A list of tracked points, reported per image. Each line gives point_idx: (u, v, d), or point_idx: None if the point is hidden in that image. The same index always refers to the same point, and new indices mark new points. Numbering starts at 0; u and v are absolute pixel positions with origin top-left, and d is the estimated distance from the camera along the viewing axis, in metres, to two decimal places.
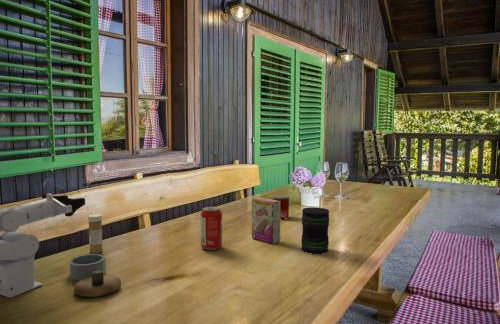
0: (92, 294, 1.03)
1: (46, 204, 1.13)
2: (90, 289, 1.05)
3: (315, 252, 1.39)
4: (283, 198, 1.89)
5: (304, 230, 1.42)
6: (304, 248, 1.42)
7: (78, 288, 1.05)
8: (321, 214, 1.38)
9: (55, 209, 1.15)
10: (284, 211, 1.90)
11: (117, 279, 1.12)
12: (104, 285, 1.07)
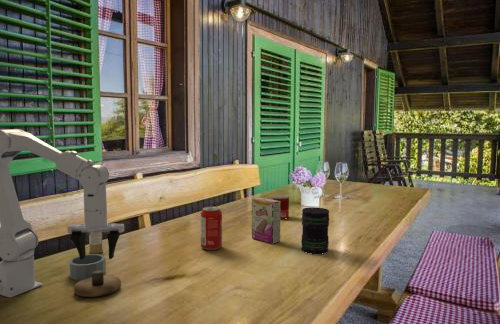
0: (92, 294, 1.03)
1: (85, 217, 1.05)
2: (90, 289, 1.05)
3: (315, 252, 1.39)
4: (283, 198, 1.89)
5: (304, 230, 1.42)
6: (304, 248, 1.42)
7: (78, 288, 1.05)
8: (321, 214, 1.38)
9: None
10: (284, 211, 1.90)
11: (117, 279, 1.12)
12: (104, 285, 1.07)
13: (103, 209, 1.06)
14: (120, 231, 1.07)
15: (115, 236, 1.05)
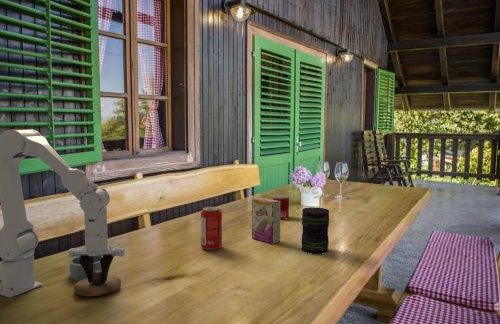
0: (92, 294, 1.03)
1: (85, 241, 1.06)
2: (90, 288, 1.05)
3: (315, 252, 1.39)
4: (283, 198, 1.89)
5: (304, 230, 1.42)
6: (304, 248, 1.42)
7: (78, 288, 1.05)
8: (321, 214, 1.38)
9: None
10: (284, 211, 1.90)
11: (117, 279, 1.12)
12: (104, 285, 1.07)
13: (104, 233, 1.06)
14: (121, 255, 1.07)
15: (108, 260, 1.06)
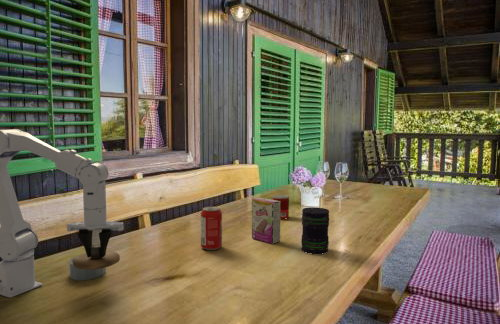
0: (90, 267, 1.03)
1: (84, 215, 1.05)
2: (89, 262, 1.05)
3: (315, 252, 1.39)
4: (283, 198, 1.89)
5: (304, 230, 1.42)
6: (304, 248, 1.42)
7: (77, 262, 1.05)
8: (321, 214, 1.38)
9: None
10: (284, 211, 1.90)
11: (116, 254, 1.11)
12: (103, 259, 1.07)
13: (102, 207, 1.06)
14: (119, 229, 1.07)
15: (107, 234, 1.05)
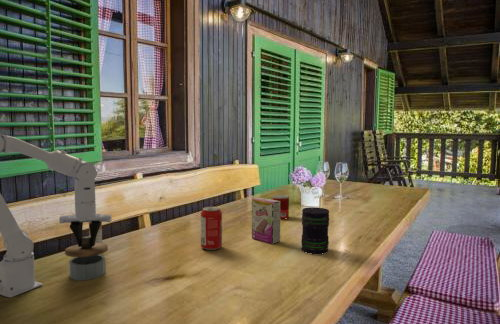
0: (83, 255, 1.14)
1: (75, 208, 1.16)
2: (81, 251, 1.16)
3: (315, 252, 1.39)
4: (283, 198, 1.89)
5: (304, 230, 1.42)
6: (304, 248, 1.42)
7: (69, 251, 1.16)
8: (321, 214, 1.38)
9: None
10: (284, 211, 1.90)
11: (104, 244, 1.23)
12: (93, 248, 1.19)
13: (92, 201, 1.17)
14: (108, 221, 1.19)
15: (96, 225, 1.17)
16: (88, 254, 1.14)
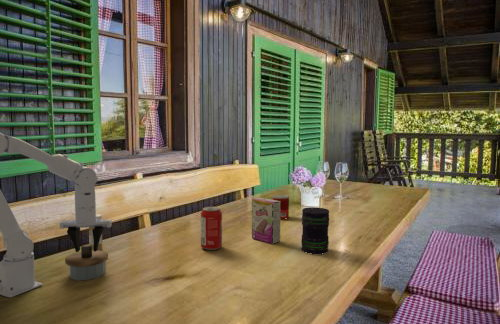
0: (83, 264, 1.14)
1: (76, 214, 1.17)
2: (81, 260, 1.16)
3: (315, 252, 1.39)
4: (283, 198, 1.89)
5: (304, 230, 1.42)
6: (304, 248, 1.42)
7: (69, 260, 1.16)
8: (321, 214, 1.38)
9: None
10: (284, 211, 1.90)
11: (104, 252, 1.23)
12: (93, 257, 1.19)
13: (92, 206, 1.17)
14: (108, 226, 1.19)
15: (99, 231, 1.17)
16: (88, 264, 1.14)
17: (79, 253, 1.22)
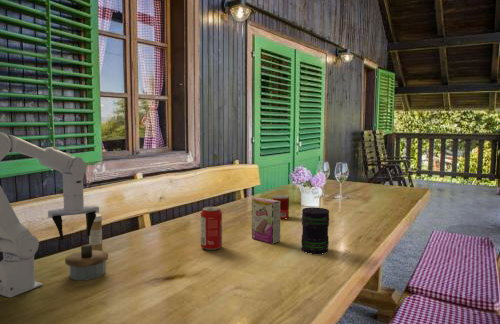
0: (83, 264, 1.14)
1: (66, 202, 1.21)
2: (81, 260, 1.16)
3: (315, 252, 1.39)
4: (283, 198, 1.89)
5: (304, 230, 1.42)
6: (304, 248, 1.42)
7: (69, 260, 1.16)
8: (321, 214, 1.38)
9: (63, 208, 1.22)
10: (284, 211, 1.90)
11: (104, 252, 1.23)
12: (93, 257, 1.19)
13: (82, 194, 1.23)
14: (97, 211, 1.26)
15: (95, 216, 1.25)
16: (88, 264, 1.14)
17: (79, 253, 1.22)
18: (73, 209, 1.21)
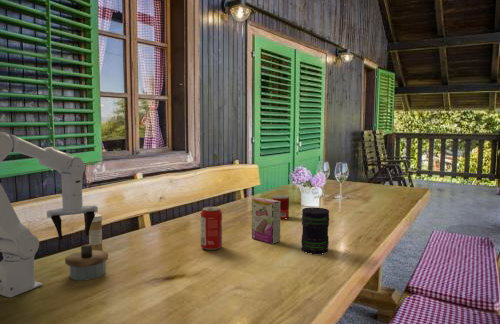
0: (83, 264, 1.14)
1: (65, 201, 1.21)
2: (81, 260, 1.16)
3: (315, 252, 1.39)
4: (283, 198, 1.89)
5: (304, 230, 1.42)
6: (304, 248, 1.42)
7: (69, 260, 1.16)
8: (321, 214, 1.38)
9: (62, 208, 1.23)
10: (284, 211, 1.90)
11: (104, 252, 1.23)
12: (93, 257, 1.19)
13: (81, 193, 1.24)
14: (96, 211, 1.27)
15: (94, 215, 1.25)
16: (88, 264, 1.14)
17: (79, 253, 1.22)
18: (72, 209, 1.21)
